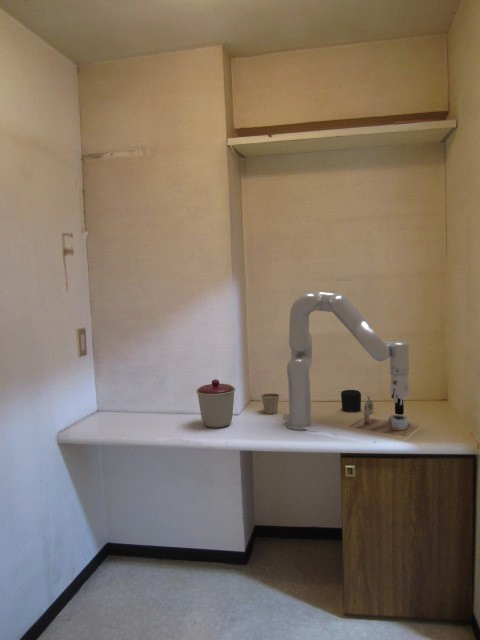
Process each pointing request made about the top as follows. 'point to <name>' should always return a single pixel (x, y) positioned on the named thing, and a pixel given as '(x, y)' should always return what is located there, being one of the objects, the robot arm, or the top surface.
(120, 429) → the top surface
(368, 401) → the pocket watch
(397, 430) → the brass hub
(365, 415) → the stand rod
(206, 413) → the canister
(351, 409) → the pen holder
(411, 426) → the walnut board
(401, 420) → the steel ring
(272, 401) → the flower pot
